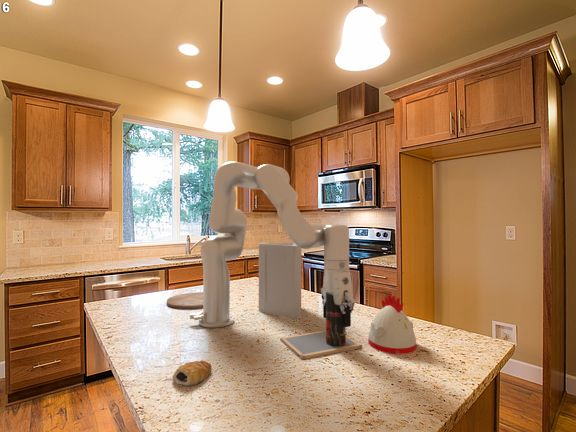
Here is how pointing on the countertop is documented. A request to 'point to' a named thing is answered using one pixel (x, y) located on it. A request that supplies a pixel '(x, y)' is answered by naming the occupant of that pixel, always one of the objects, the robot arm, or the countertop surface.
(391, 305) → the kitchen timer
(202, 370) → the pastry
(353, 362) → the countertop surface
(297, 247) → the tall white carton
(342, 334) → the deodorant
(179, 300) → the trivet
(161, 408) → the countertop surface
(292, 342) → the slate board
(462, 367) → the countertop surface
